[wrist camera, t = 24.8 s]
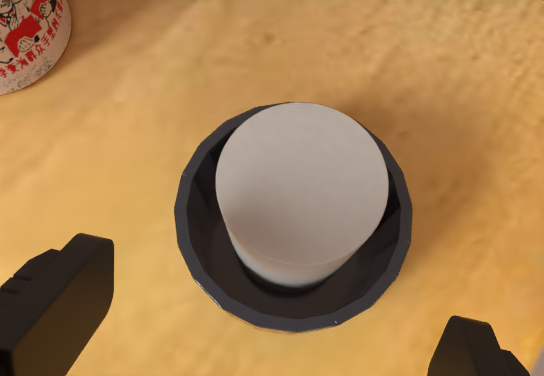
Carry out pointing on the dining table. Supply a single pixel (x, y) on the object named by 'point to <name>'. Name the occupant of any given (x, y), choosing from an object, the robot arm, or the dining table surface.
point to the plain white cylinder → (299, 193)
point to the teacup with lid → (31, 40)
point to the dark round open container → (269, 303)
